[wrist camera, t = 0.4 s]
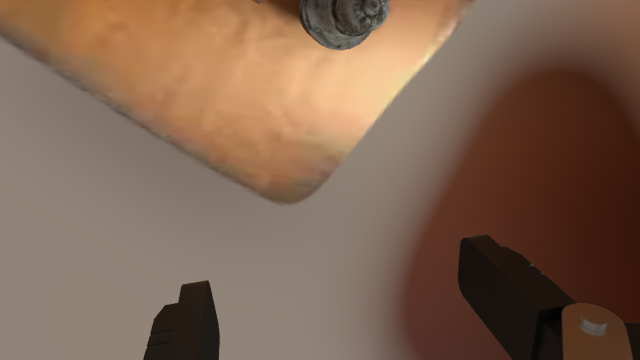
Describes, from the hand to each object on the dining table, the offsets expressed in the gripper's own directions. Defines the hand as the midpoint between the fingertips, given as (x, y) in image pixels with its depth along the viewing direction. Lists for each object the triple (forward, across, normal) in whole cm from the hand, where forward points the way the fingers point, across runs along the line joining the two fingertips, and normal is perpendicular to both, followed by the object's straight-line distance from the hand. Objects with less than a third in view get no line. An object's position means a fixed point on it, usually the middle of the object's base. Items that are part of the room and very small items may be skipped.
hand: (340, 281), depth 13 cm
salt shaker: (+26, -6, -7) cm, 27 cm away
